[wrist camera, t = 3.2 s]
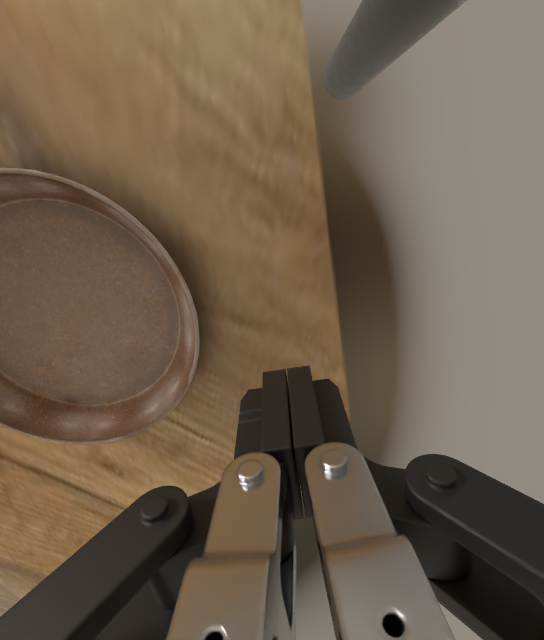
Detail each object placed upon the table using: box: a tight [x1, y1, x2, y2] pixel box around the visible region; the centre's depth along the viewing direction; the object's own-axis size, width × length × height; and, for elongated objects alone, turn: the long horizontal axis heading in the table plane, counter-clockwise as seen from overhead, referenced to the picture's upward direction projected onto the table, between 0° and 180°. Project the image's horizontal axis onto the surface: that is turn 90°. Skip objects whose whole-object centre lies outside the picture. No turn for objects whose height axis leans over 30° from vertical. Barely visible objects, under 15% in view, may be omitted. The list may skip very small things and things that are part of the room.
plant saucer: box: [0, 168, 199, 444], centre depth 23 cm, size 18×18×3 cm
